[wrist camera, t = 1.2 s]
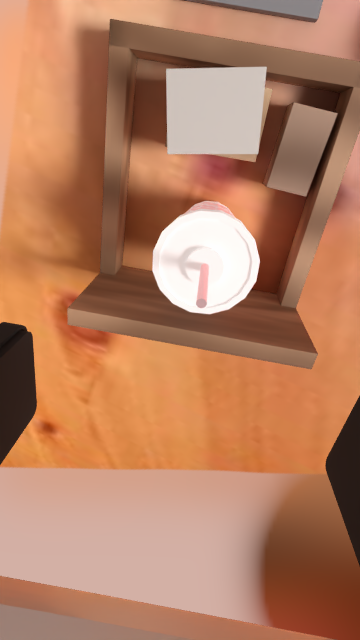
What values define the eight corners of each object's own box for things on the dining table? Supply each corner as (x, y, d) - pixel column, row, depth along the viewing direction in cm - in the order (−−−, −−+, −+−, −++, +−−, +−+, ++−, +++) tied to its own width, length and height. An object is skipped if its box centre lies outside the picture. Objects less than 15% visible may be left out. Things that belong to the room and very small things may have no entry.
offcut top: (172, 78, 20) (166, 68, 17) (260, 77, 20) (266, 66, 17) (173, 152, 22) (167, 154, 19) (253, 153, 21) (258, 154, 19)
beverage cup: (259, 245, 27) (295, 330, 15) (193, 278, 29) (176, 378, 16) (225, 174, 25) (235, 202, 12) (156, 215, 27) (104, 275, 14)
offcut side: (286, 106, 23) (294, 102, 20) (326, 116, 23) (337, 113, 20) (262, 183, 25) (266, 186, 23) (298, 192, 25) (306, 196, 23)
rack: (120, 31, 21) (63, -37, 13) (366, 73, 21) (456, 29, 13) (107, 276, 29) (67, 324, 21) (285, 308, 29) (311, 369, 21)
